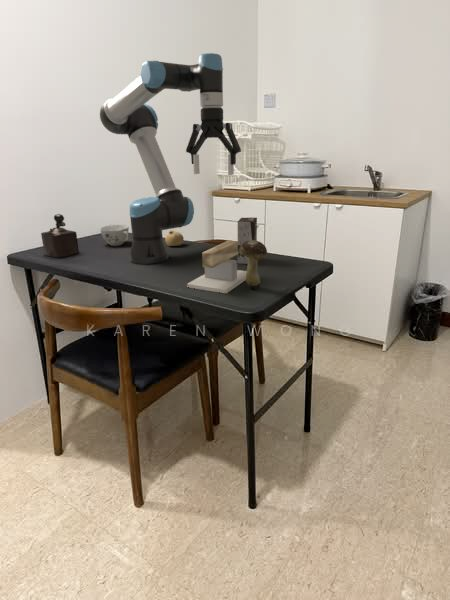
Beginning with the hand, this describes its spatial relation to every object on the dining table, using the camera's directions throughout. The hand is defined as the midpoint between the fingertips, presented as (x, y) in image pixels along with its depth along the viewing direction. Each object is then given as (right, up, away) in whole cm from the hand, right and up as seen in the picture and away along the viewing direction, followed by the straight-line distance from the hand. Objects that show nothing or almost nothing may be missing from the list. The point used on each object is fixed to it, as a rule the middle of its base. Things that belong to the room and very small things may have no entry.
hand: (213, 174), depth 146 cm
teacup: (-45, -19, +44) cm, 66 cm away
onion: (-18, -20, +41) cm, 49 cm away
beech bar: (+3, -31, -9) cm, 32 cm away
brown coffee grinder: (-63, -25, +29) cm, 74 cm away
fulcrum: (+3, -38, -7) cm, 38 cm away
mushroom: (+13, -40, -14) cm, 45 cm away
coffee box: (+13, -29, +16) cm, 35 cm away
